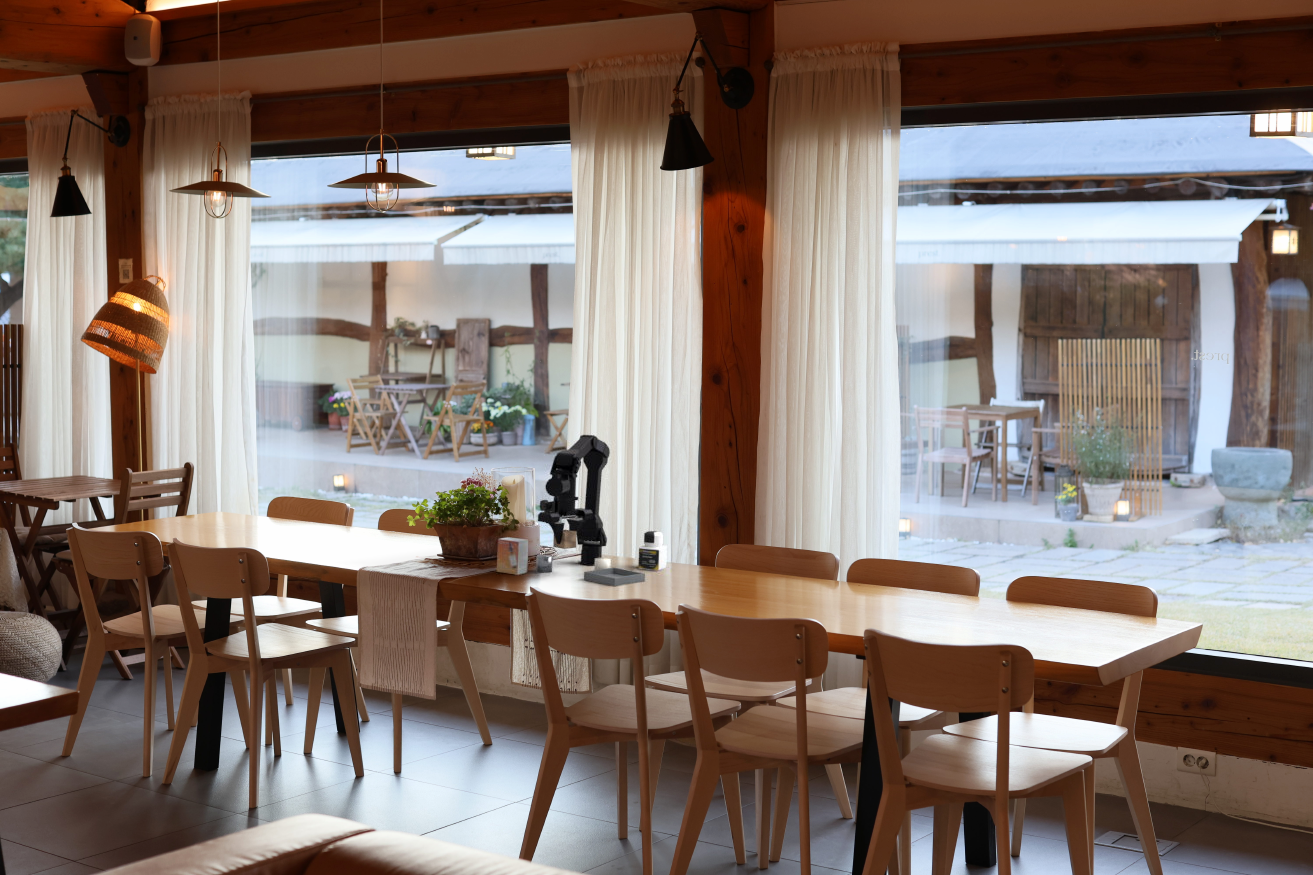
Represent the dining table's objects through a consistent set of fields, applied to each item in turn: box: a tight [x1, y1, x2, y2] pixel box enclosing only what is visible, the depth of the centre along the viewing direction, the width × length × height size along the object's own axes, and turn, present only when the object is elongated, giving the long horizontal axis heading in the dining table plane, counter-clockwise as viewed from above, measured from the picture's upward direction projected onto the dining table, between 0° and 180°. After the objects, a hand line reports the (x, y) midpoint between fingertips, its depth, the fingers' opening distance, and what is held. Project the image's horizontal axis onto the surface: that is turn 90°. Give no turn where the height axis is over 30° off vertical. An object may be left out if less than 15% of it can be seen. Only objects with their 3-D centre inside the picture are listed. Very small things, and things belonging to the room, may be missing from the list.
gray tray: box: [583, 566, 646, 587], centre depth 395 cm, size 13×13×2 cm
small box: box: [496, 536, 529, 576], centre depth 402 cm, size 8×6×10 cm
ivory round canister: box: [593, 557, 612, 570], centre depth 404 cm, size 5×5×5 cm
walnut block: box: [552, 529, 577, 550], centre depth 399 cm, size 5×5×5 cm
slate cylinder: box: [535, 554, 553, 574], centre depth 406 cm, size 5×5×5 cm
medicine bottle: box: [637, 530, 668, 572], centre depth 418 cm, size 7×7×12 cm
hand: (564, 543), depth 399 cm, fingers closed on walnut block, 5 cm apart
